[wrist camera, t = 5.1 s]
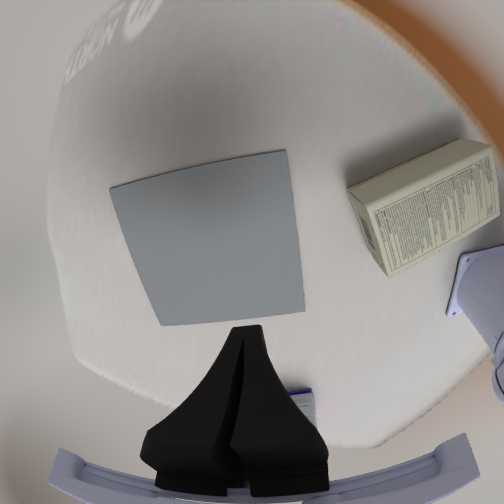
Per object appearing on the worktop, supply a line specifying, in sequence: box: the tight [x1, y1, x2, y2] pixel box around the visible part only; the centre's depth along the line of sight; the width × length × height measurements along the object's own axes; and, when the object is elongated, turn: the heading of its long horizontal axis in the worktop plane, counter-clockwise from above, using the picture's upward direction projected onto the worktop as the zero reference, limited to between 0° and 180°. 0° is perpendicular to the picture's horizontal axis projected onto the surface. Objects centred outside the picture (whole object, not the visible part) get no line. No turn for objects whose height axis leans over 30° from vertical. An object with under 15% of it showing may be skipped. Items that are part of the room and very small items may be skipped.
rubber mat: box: [109, 151, 305, 326], centre depth 22 cm, size 14×14×1 cm
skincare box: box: [347, 138, 500, 278], centre depth 17 cm, size 6×4×12 cm
